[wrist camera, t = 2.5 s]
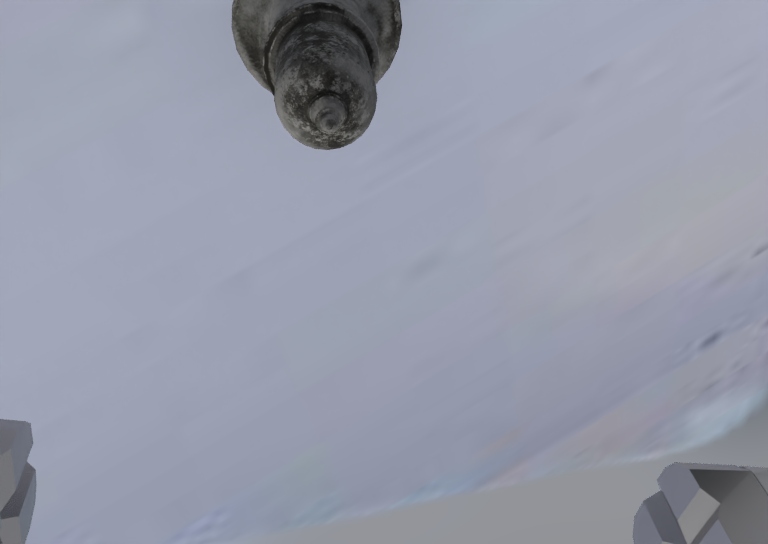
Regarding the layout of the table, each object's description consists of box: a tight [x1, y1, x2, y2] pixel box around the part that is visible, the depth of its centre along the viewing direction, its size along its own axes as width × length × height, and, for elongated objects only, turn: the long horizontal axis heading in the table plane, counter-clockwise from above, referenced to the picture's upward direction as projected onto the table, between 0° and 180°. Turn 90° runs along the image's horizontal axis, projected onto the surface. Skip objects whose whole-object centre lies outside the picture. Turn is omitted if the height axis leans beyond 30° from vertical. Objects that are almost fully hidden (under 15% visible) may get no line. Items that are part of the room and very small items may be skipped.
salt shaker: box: [232, 0, 402, 150], centre depth 23 cm, size 6×6×12 cm
